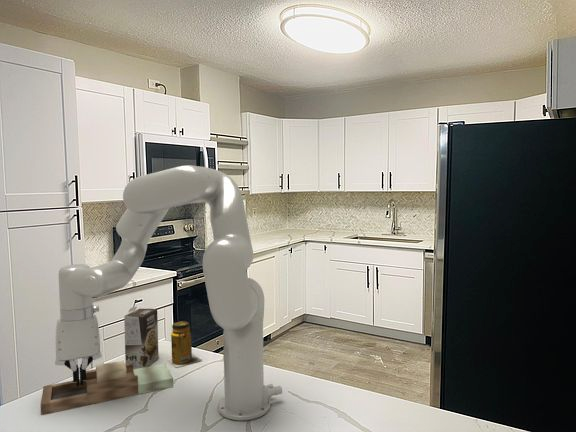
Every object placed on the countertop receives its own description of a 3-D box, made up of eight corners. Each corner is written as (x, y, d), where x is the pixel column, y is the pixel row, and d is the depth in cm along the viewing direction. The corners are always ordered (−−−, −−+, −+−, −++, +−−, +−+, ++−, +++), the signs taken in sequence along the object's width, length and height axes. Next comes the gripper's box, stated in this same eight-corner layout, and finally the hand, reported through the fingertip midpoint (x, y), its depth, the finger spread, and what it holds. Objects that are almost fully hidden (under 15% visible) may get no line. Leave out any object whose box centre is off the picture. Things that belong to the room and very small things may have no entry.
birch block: (124, 374, 118) (123, 360, 118) (126, 383, 113) (126, 368, 112) (96, 379, 115) (95, 365, 114) (97, 389, 109) (97, 373, 109)
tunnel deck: (165, 371, 125) (164, 356, 125) (173, 386, 116) (172, 370, 115) (43, 395, 111) (43, 378, 111) (41, 415, 102) (40, 396, 101)
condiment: (167, 360, 134) (166, 322, 133) (192, 354, 139) (191, 317, 138) (176, 368, 128) (175, 328, 127) (202, 361, 133) (201, 323, 132)
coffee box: (144, 370, 127) (142, 316, 126) (124, 368, 128) (122, 315, 127) (159, 358, 135) (158, 308, 134) (141, 357, 137) (139, 307, 136)
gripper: (107, 306, 116) (109, 372, 117) (44, 313, 109) (47, 384, 110) (109, 313, 109) (112, 383, 110) (42, 321, 102) (45, 396, 103)
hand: (79, 383), depth 110 cm, fingers closed
